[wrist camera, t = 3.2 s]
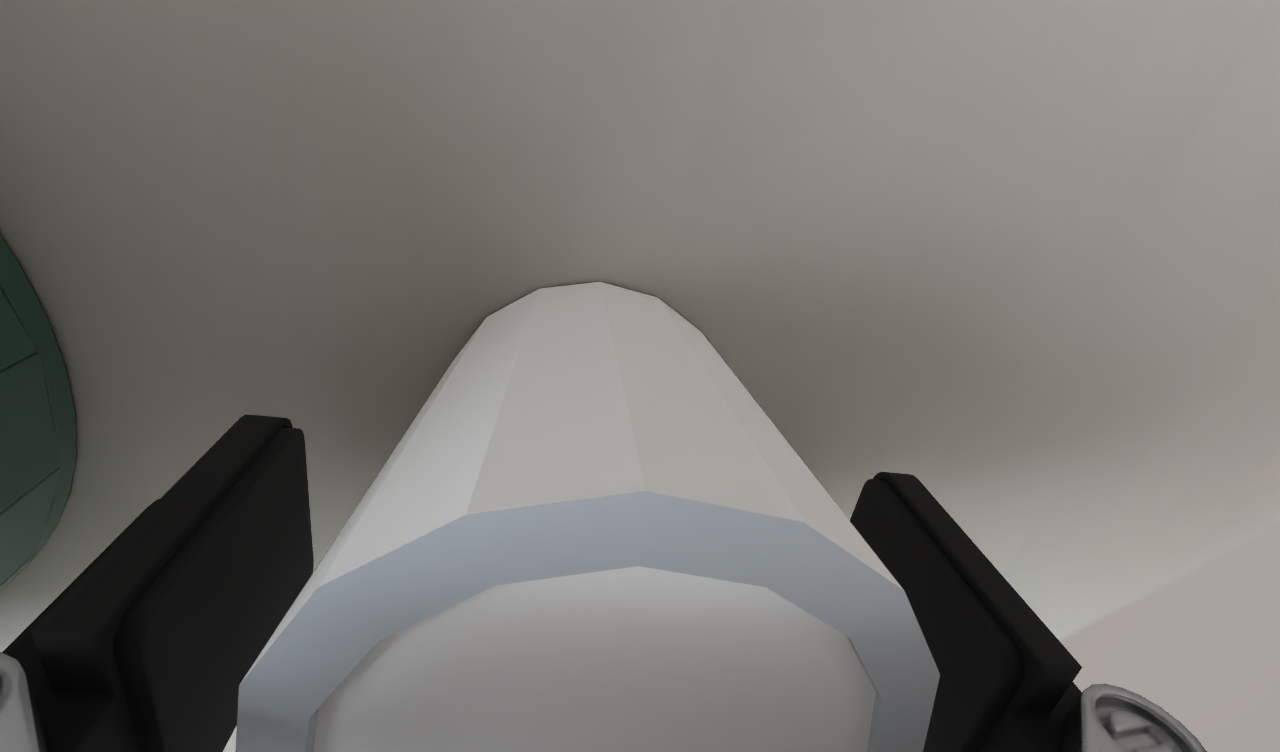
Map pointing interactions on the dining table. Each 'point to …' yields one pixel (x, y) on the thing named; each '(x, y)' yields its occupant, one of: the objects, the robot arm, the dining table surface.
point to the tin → (30, 423)
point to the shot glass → (593, 568)
